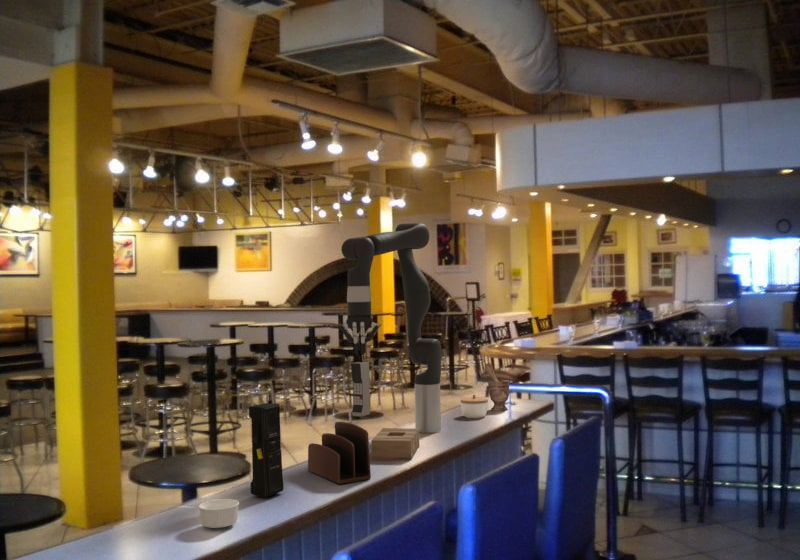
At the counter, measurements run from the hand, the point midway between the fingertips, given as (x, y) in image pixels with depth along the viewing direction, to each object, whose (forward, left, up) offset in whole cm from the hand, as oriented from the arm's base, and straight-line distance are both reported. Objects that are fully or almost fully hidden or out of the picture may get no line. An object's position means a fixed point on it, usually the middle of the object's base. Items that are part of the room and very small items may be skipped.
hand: (360, 355), depth 247 cm
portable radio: (+50, -15, -31) cm, 61 cm away
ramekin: (+75, -18, -31) cm, 83 cm away
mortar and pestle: (-81, +40, -31) cm, 96 cm away
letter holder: (+28, -1, -31) cm, 42 cm away
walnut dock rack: (0, +11, -31) cm, 33 cm away
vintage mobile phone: (0, 0, -19) cm, 19 cm away
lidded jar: (-65, +32, -31) cm, 79 cm away
